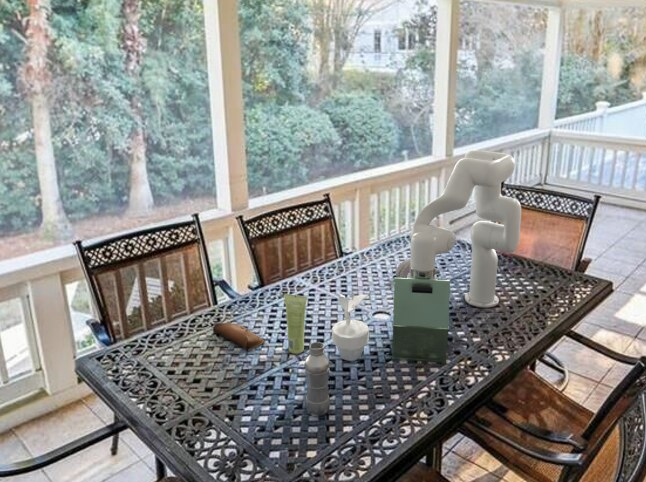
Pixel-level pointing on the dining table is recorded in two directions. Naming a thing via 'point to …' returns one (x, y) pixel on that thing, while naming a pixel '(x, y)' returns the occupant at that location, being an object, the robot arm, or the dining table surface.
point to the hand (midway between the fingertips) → (420, 324)
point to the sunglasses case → (238, 335)
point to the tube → (295, 322)
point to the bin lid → (421, 302)
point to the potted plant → (350, 330)
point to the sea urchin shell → (403, 269)
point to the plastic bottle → (317, 380)
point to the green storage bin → (420, 344)
